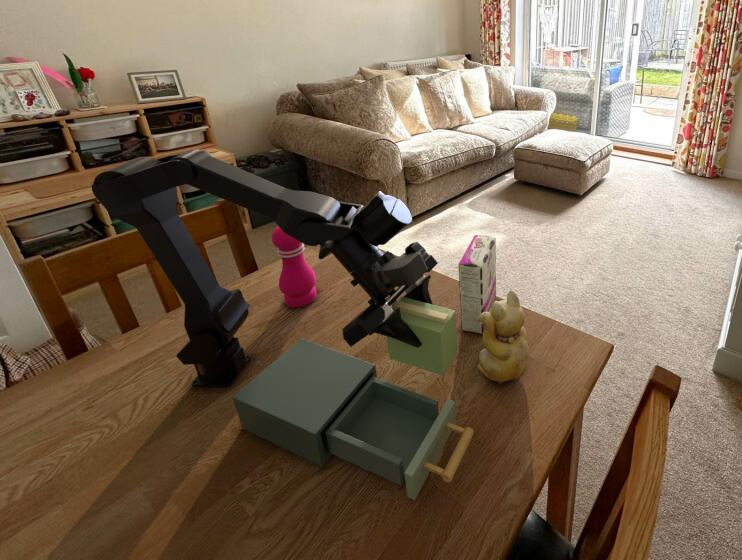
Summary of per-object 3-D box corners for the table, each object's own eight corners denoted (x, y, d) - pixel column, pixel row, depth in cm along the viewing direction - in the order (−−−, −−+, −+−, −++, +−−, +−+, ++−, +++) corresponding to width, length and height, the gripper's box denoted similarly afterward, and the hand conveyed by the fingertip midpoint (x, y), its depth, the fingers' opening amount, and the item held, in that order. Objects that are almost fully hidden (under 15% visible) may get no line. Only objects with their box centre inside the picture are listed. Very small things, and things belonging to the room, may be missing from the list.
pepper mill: (309, 309, 86) (293, 227, 79) (276, 308, 86) (256, 226, 79) (324, 288, 93) (310, 211, 85) (293, 287, 93) (276, 210, 86)
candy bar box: (475, 296, 92) (474, 233, 86) (496, 299, 91) (497, 236, 85) (459, 331, 81) (457, 262, 75) (483, 335, 81) (483, 266, 74)
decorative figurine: (503, 342, 79) (505, 278, 73) (539, 362, 75) (543, 296, 69) (471, 375, 72) (470, 307, 66) (508, 400, 67) (511, 329, 62)
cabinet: (379, 394, 68) (375, 364, 65) (322, 466, 57) (315, 434, 54) (307, 366, 73) (301, 337, 70) (242, 428, 62) (232, 397, 59)
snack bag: (443, 376, 64) (440, 328, 60) (389, 358, 67) (383, 312, 63) (457, 352, 68) (455, 306, 64) (406, 337, 71) (401, 292, 67)
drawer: (480, 433, 61) (480, 410, 59) (443, 514, 51) (441, 489, 49) (377, 393, 67) (374, 371, 65) (326, 459, 57) (321, 435, 55)
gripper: (348, 271, 52) (427, 361, 53) (425, 211, 68) (484, 280, 69) (310, 305, 58) (382, 386, 58) (390, 242, 74) (445, 306, 75)
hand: (428, 334), depth 65 cm, fingers closed on snack bag, 5 cm apart
